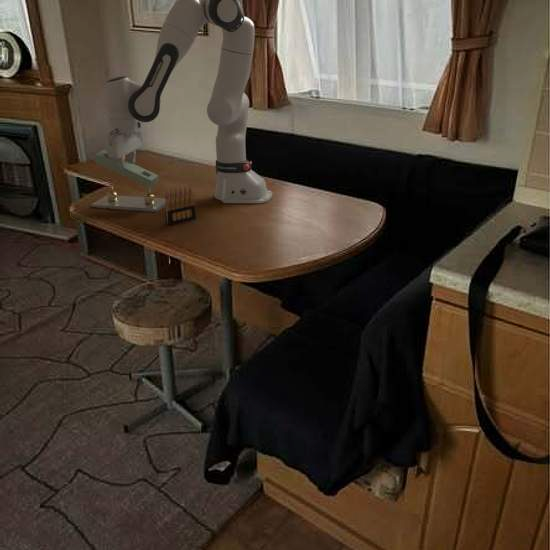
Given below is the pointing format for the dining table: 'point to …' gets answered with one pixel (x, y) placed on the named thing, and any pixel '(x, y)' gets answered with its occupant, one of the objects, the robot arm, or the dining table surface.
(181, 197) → the ammunition clip
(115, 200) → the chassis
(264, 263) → the dining table surface
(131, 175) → the board
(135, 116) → the robot arm
